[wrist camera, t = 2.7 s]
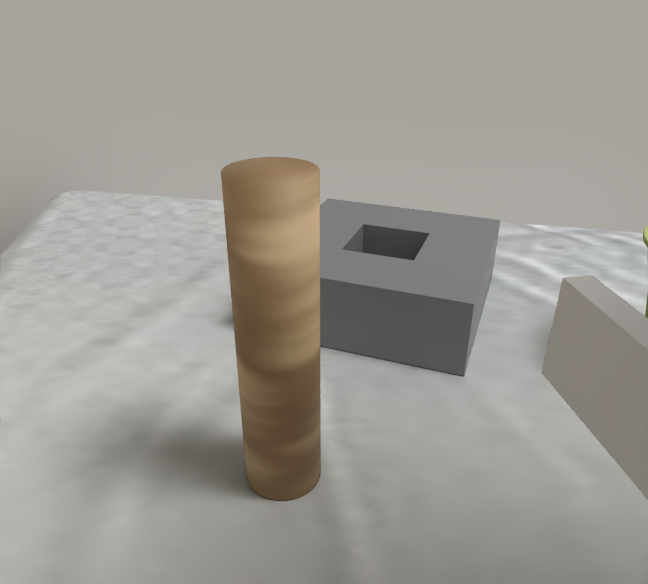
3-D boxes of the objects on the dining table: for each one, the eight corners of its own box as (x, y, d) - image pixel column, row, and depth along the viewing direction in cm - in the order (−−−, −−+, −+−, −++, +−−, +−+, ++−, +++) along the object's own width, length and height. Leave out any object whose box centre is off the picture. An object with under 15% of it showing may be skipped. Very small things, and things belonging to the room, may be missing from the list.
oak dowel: (330, 456, 30) (333, 162, 22) (303, 509, 27) (296, 190, 19) (266, 438, 31) (249, 153, 24) (233, 488, 28) (202, 178, 21)
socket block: (491, 278, 47) (500, 220, 45) (463, 376, 35) (474, 303, 33) (327, 253, 51) (328, 198, 49) (256, 332, 40) (251, 265, 38)
